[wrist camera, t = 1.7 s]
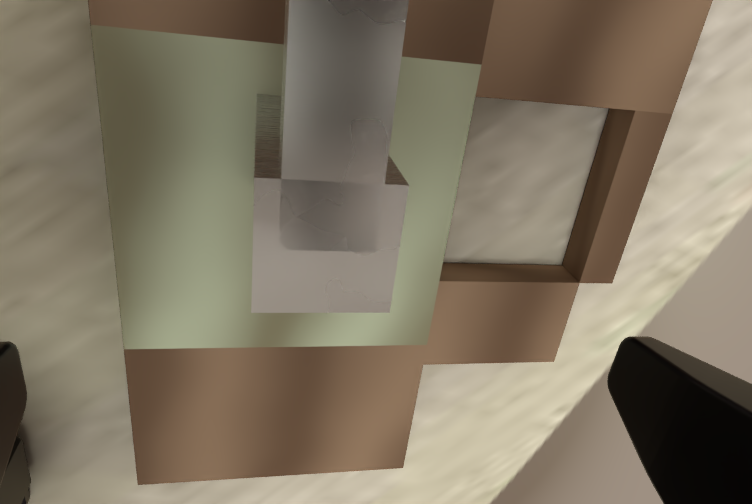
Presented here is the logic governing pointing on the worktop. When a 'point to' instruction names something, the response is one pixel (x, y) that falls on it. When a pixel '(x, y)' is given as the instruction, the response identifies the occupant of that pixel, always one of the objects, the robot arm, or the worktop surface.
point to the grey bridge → (330, 162)
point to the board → (419, 234)
